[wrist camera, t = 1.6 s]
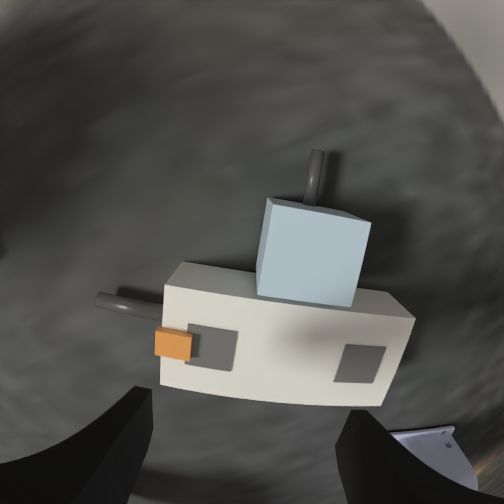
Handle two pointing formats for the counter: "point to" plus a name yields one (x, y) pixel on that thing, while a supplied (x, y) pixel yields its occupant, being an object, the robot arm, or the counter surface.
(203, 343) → the power strip
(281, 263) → the charger
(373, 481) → the robot arm
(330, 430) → the counter surface
